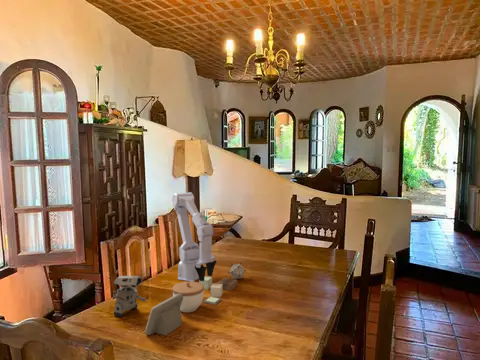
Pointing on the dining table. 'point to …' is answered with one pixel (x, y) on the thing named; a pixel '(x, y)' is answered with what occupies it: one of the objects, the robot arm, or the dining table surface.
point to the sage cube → (206, 282)
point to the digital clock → (165, 316)
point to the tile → (212, 300)
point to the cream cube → (216, 290)
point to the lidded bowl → (189, 295)
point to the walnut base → (228, 283)
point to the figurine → (126, 294)
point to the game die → (237, 271)
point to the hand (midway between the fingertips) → (205, 278)
